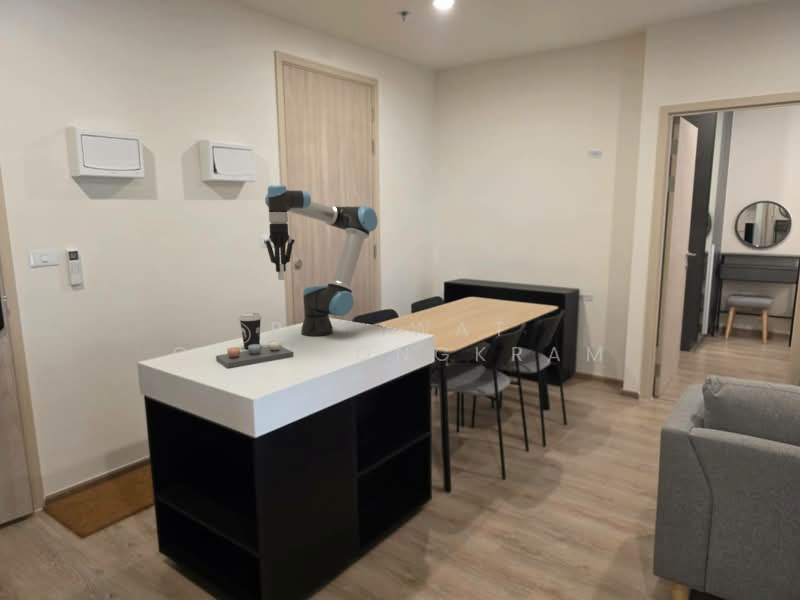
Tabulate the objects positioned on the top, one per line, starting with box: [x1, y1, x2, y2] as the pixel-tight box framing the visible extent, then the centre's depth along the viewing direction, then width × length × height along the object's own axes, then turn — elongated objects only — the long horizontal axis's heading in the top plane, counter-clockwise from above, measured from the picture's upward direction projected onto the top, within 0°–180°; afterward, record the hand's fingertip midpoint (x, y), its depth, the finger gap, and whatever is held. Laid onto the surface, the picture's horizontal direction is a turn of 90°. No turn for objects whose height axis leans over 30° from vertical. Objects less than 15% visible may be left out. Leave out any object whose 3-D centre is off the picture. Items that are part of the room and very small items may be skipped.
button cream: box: [267, 340, 281, 352], centre depth 224 cm, size 5×5×4 cm
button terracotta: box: [226, 346, 241, 359], centre depth 215 cm, size 5×5×4 cm
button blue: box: [247, 344, 262, 355], centre depth 220 cm, size 5×5×4 cm
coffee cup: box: [238, 311, 262, 350], centre depth 236 cm, size 10×10×15 cm
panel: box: [215, 345, 294, 369], centre depth 220 cm, size 27×14×2 cm, turn 126°
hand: (281, 279), depth 229 cm, fingers closed
